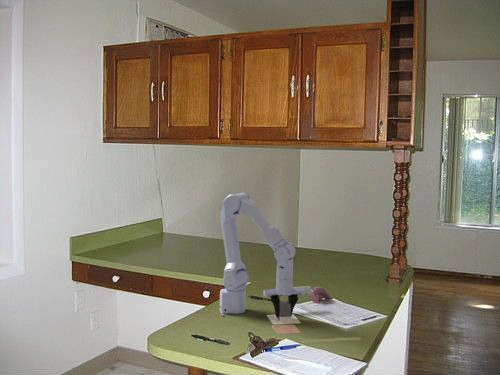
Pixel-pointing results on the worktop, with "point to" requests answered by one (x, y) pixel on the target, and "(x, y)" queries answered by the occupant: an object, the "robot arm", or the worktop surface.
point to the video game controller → (318, 294)
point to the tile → (285, 329)
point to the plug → (284, 309)
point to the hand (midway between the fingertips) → (283, 315)
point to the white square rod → (306, 288)
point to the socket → (283, 319)
